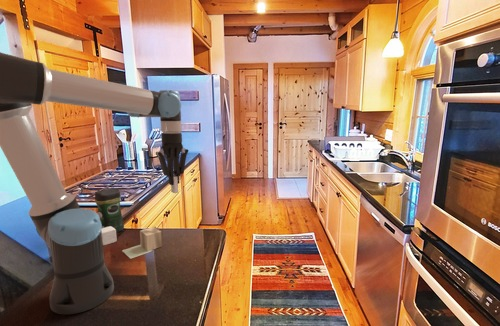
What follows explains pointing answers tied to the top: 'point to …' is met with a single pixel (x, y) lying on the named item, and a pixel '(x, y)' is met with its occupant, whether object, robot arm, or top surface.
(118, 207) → the coffee jar
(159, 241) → the maple block
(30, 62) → the robot arm
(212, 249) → the top surface
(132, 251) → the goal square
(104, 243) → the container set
